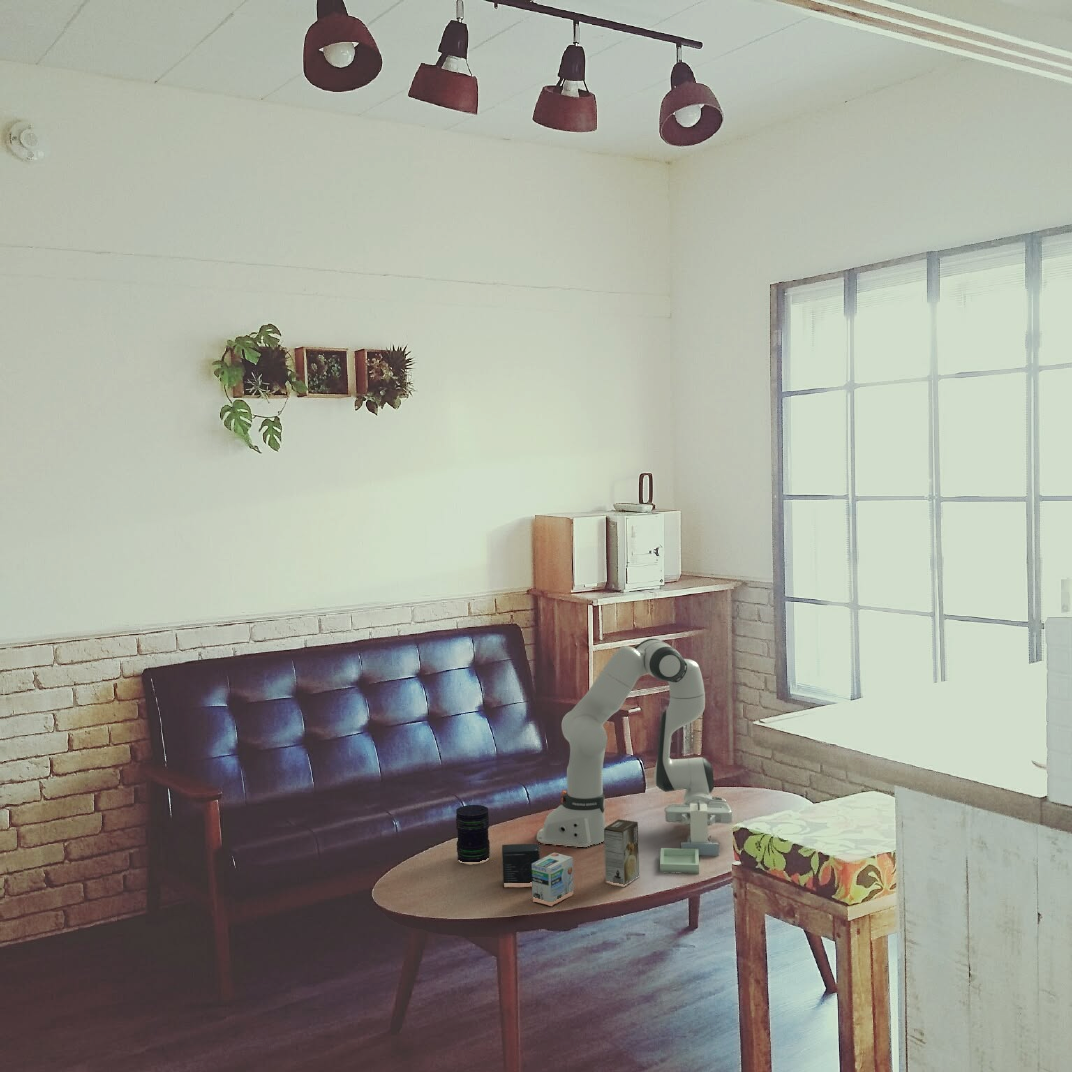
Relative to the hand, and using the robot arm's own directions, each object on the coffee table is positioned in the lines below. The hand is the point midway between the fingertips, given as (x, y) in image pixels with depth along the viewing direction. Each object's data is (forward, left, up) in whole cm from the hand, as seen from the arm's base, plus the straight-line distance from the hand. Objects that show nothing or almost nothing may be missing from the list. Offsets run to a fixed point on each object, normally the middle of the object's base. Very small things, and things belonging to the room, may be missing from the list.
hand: (698, 822), depth 337 cm
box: (-50, -29, -9) cm, 58 cm away
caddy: (0, +1, -8) cm, 8 cm away
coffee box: (-22, -25, -9) cm, 34 cm away
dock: (0, +1, -8) cm, 9 cm away
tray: (-6, -12, -8) cm, 16 cm away
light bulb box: (-40, -39, -9) cm, 57 cm away
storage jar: (-67, -11, -9) cm, 68 cm away
